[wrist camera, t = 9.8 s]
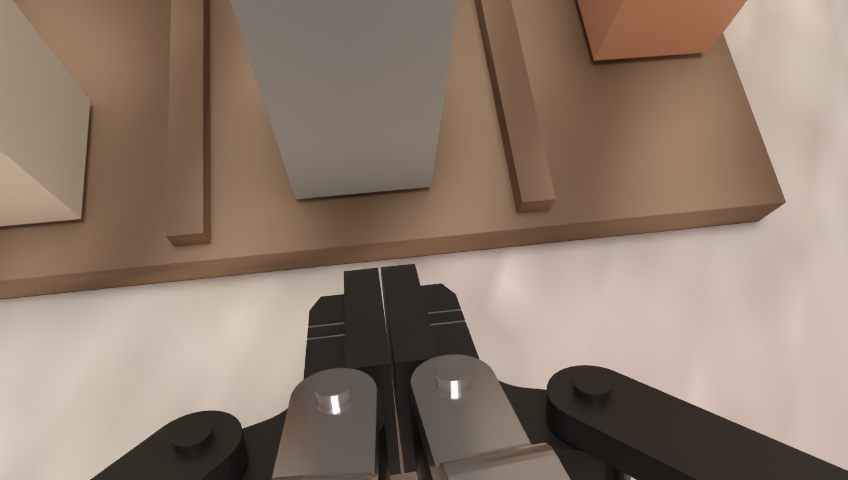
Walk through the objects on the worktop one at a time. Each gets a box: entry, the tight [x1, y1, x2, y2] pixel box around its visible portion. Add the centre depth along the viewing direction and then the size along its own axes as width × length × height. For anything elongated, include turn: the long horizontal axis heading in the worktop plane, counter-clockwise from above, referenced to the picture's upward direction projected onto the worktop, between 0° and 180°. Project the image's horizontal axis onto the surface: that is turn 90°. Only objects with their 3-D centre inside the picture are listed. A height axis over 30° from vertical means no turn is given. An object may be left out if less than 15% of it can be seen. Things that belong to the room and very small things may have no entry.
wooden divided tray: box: [0, 0, 786, 299], centre depth 19 cm, size 26×11×4 cm, turn 97°
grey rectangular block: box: [230, 0, 458, 199], centre depth 14 cm, size 4×4×10 cm
